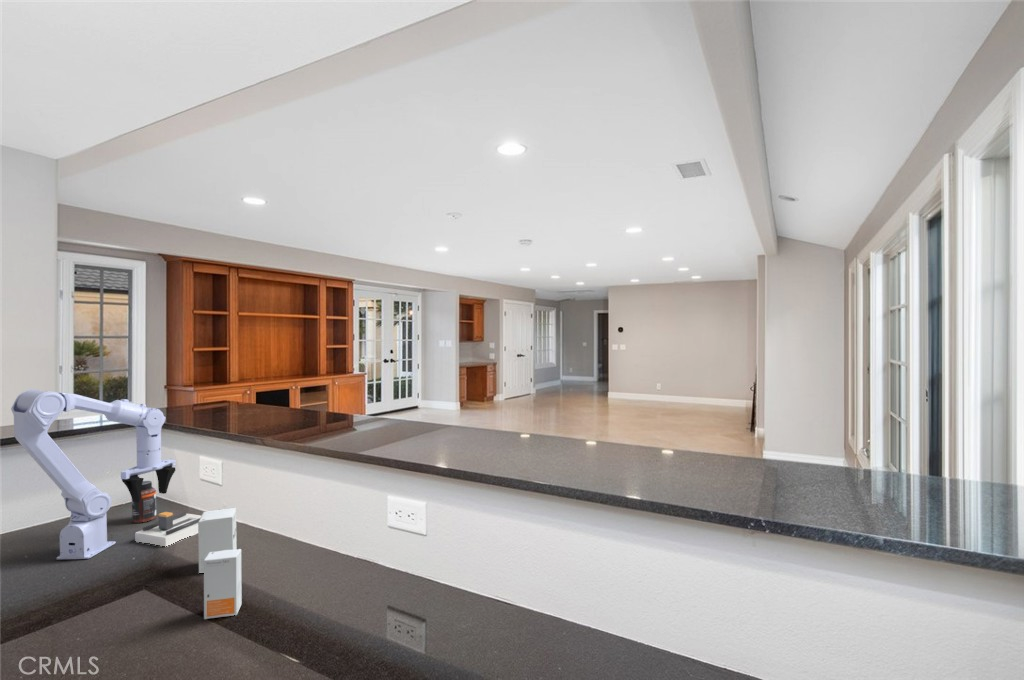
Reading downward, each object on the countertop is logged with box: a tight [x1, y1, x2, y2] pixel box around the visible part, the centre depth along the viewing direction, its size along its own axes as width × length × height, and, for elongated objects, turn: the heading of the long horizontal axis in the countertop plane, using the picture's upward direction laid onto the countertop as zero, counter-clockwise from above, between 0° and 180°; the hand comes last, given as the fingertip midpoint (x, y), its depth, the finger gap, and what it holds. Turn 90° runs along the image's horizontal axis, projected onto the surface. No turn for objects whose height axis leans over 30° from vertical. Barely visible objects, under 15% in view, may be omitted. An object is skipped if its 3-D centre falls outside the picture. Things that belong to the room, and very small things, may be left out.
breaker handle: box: [158, 511, 174, 530], centre depth 140 cm, size 2×3×4 cm, turn 72°
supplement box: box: [197, 507, 238, 574], centre depth 124 cm, size 7×7×13 cm
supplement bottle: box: [131, 480, 157, 524], centre depth 154 cm, size 6×6×11 cm
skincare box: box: [203, 548, 243, 620], centre depth 104 cm, size 6×4×12 cm
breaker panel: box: [134, 511, 202, 548], centre depth 143 cm, size 15×11×4 cm
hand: (150, 497), depth 146 cm, fingers open, 7 cm apart
